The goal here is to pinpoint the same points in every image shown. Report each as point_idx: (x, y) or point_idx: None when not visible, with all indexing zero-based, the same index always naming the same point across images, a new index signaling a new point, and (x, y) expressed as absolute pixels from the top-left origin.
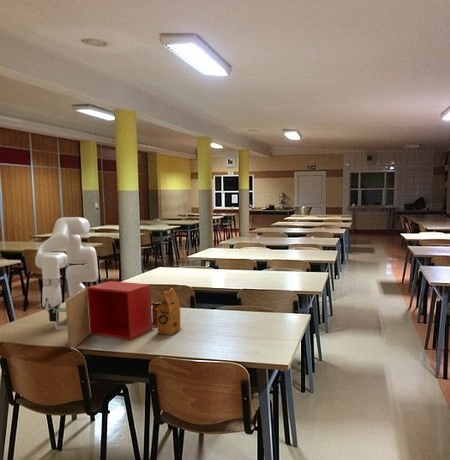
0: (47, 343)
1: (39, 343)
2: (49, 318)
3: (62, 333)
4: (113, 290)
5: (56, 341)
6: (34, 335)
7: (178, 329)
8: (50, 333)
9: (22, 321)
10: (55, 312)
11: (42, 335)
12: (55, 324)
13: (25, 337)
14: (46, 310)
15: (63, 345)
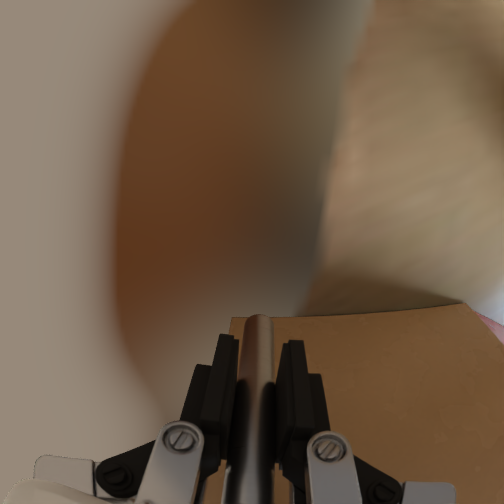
0: (368, 149)
1: (368, 102)
2: (214, 356)
3: (497, 181)
4: None
5: (399, 190)
6: (471, 52)
7: None
8: (498, 122)
9: None
10: (226, 466)
11: (477, 88)
12: (242, 350)
13: (442, 17)
14: (59, 457)
15: (328, 256)
